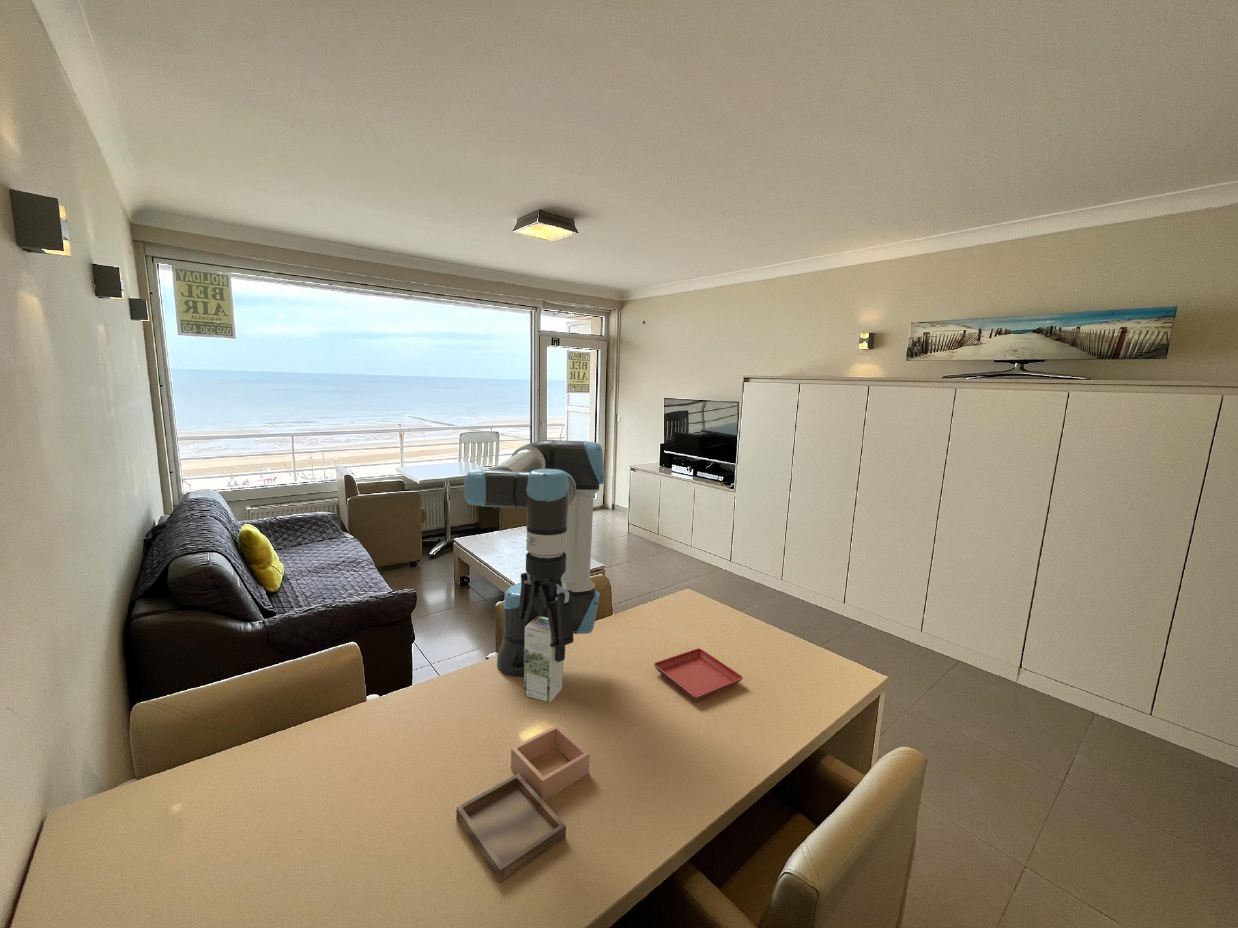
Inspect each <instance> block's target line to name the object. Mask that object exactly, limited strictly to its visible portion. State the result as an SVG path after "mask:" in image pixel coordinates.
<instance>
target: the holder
mask: <svg viewBox="0 0 1238 928" xmlns="http://www.w3.org/2000/svg"><path fill="white" fill-rule="evenodd" d="M554 748H556V749H557V750H558V751H559V752H560V753H562V755H564V756H565V757H566V758H567V759H568V760H570V761H568V762H566V763H564V764H563V765H561V766H560V767H558V768H555V770H552V771H551V772H549V773H548V774H545V775H543V774H542V773H541V772H540V771H539V770H538V769H537V768H536V767H535V766H534V765H533V763H531V762H530V761H532V760H534V759H536V758H537V757H539V756H540V755H543V754H545V753H547V752H549V751H550V750H552V749H554ZM510 750H511V751H510V768H511V769H512V771H513V772H514V773H515V775H516V774H519V775H520V776H521V777H522V778H523V779H524V780H525V781H526V782H527V784H528V785H529V786H530V787H531V788H532V789H533V790H534V791H535V792H536V793H537V795H538V796H539V797H540V798H541V799H542V800H543V801H544V802H545V801H546V800H548V799H550V798H551V797H553V796H555V794H557V793H559V792H561V791H563V790H564V789H566V788H567V787H569V786H571V785H572V784H574V783H575V782H578V780H581V779H582V778H584V777H585V776H587V775H588V774H590V755H591V754H590V753H589V752H588V750H586V749H585V748H584V747H583V746H582V745H580V744H579V742H577V741H576V740H575V739H574V738H572V737H571V736H570V735H569V734H568V733H567V732H565V730H563V729H562V728H561V727H560V726H559V725H558V724H556V725H554V726H552V727H550V728H548V729H546V730H545V731H542V732H541V733H538V734H536V735H534V736H532V737H530V738H529V739H526V740H525V741H522V742H521V743H518V744H517V745H515V746H513V747H511V749H510Z"/></svg>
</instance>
